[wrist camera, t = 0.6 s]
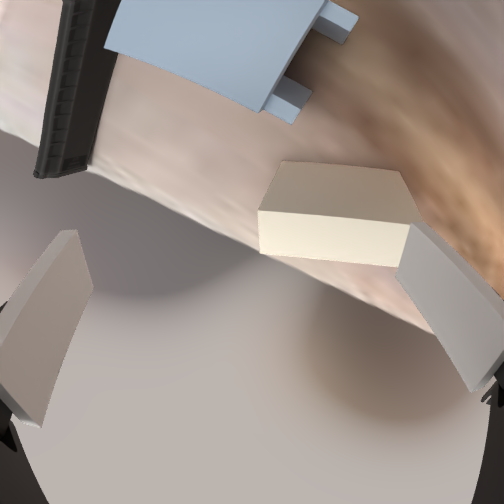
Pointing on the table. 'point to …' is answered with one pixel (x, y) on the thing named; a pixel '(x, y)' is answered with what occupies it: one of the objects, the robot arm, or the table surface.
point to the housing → (229, 44)
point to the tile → (336, 213)
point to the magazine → (76, 87)
